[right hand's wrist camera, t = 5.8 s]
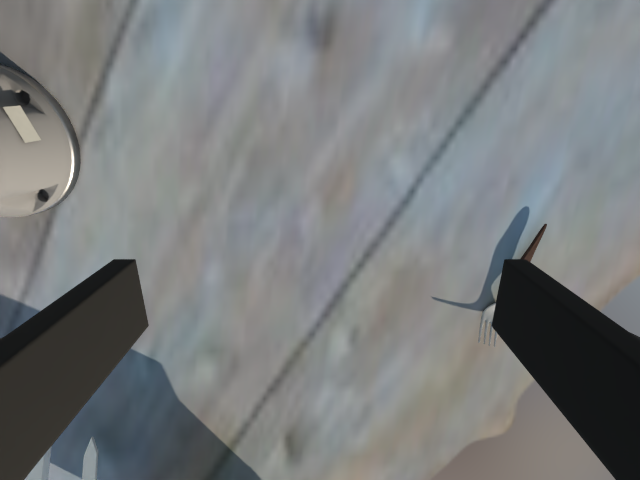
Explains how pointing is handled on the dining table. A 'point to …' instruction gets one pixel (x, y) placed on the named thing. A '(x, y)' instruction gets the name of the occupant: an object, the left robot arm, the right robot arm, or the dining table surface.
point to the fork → (489, 311)
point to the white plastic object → (90, 462)
